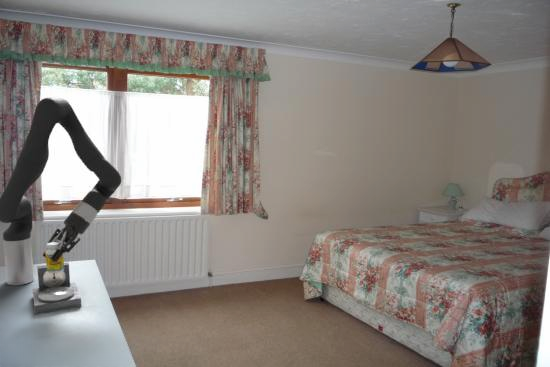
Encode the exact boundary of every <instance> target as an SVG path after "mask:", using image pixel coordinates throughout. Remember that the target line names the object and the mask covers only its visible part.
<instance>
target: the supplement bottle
mask: <svg viewBox="0 0 550 367" xmlns="http://www.w3.org/2000/svg"><path fill="white" fill-rule="evenodd" d="M59 246H60V243H59V242H51V243H46V250H45V251H46V252H45V251H44V252H45V255H46V257H45V262H46V263H45V265H46V266H47V272H48V273H59V272H61V271H63V270H64V263H65V261H64V253H63V254H62V255H61V257H60V258H59V259H58V261H57V262H54V261H52V260H51V259H50V258H51V257H52V255H53V254H54V253H55V252H56V250H57V249H58V248H59ZM47 248H48V250H47ZM58 250H59V249H58Z"/></svg>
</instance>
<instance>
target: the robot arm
mask: <svg viewBox="0 0 550 367" xmlns="http://www.w3.org/2000/svg"><path fill="white" fill-rule="evenodd" d="M57 124H59V125H60V126H61V127H63V129H64V130H65V131H66V133H67V134H68V136H69V138H70V140H71V142H72V146H73V149H74V151H75V154H76V155H77V157H78V158H79V159H80V161H81V162H82V164H84V166H85V167H86V168H87V169H88V170H89V171H90V172H93V174H94V176H96V177H97V178H98V180H97V182H96V184H95V185H94V186H93V188H92V189H91V190H90V191H88V192H87V194H86V195H85V196H84V197H83V198H82V200H81V201H80V202H79V203H78V204H77V205H76V206H75V207H74V209H72V211H71V212H70V213H69V214H68V216H67V217H66V218H65V219H64V221H63V224H64V225H65V226H64V227H63V228H62V229H59V228H56V230H55V231H54V232H53V234H52V236H51V237H50V239H49V240H48V241H47V242H48V243H51V242H59V243H60V246H59V248H58V249H59V250H58V249H57V250H56V252H55V253H54V254H53V255H52V257H51V258H50V259H51V260H52V261H54V262H57V261H58V259H59V258H60V257H61V255H62V254H63V255H64V254H66V253H70V252H71V250H73V248H74V247H75V246H76V245H77V244H78V243H79V242H80V241H81V238H80V237H78V235H83V234H84V233H85V232H86V230H88V228H89V226H91V224H92V223H93V222H94V220H95V219H96V217H97V216H98V214H99V213H100V212H101V210H102V208H103V207H104V206H105V204H106V203H107V202H108V200H109V199H110V198H111V197H112V195H113V194H114V193H115V192H116V191H117V190H118V188H119V187H120V185H121V183H122V176H121V174H120V172H119V171H118V170H117V169H116V168H115V167H114V166H113V164H111V162H109V161H108V160H107V159H106V157H105V156H104V155H103V153H102V152H101V151H100V149H98V147H97V146H96V145H95V143H94V142H93V140H91V137H89V135H88V133H87V132H86V130H85V128H84V127H83V124H82V123H81V121H80V120H79V118H78V116H77V114H76V112H75V111H74V108H73V107H72V105H71V104H70V102H69V101H68V100H67V99H65V98H64V97H60V96H53V97H44V98H42V99H41V100H39V102H37V104H36V106H35V110H34V113H33V117H32V120H31V124H30V128H29V131H28V134H27V136H26V138H25V141H24V144H23V147H22V148H21V151H20V153H19V155H18V158H17V160H16V163H15V166H14V168H13V171H12V173H11V176H10V178H9V181H8V183H7V184H6V187H5V189H4V190H3V192H2V194H1V196H0V222H1V223H4V224H9V223H10V225H9V226H8V227H7V229H6V230H4V231H3V233H2V240H3V250H4V253H3V254H4V265H5V266H4V267H5V277H6V284H7V286H22V285H26V284H29V283H32V282H33V281H34V280H35V277H34V263H33V250H32V236H31V234H32V231H33V207H32V204H31V201H30V200H29V198H28V197H27V196H25V194H26V192H27V191H28V190H29V188H31V187H32V186H33V185H34V183H36V182H37V180H39V178H40V177H41V176H42V174H43V172H44V170H45V168H46V166H47V163H48V160H49V155H50V152H49V151H50V150H49V148H50V147H49V139H50V136H51V134H52V132H53V130H54V128H55V126H56V125H57ZM48 243H47V244H48ZM46 250H48V248H47V247H46ZM46 250H45V251H44V252H43V254H42V256H43V257H44V258H46V255H45V252H46Z"/></svg>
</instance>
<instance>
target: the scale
mask: <svg viewBox="0 0 550 367" xmlns="http://www.w3.org/2000/svg"><path fill="white" fill-rule="evenodd" d="M70 277H71V276H70V264H69V262H68V261H67V262H66V261H65V262H64V270H63V271H61V272H59V273H48V272H47V266H46V264H45V265H37V280H38V288H37V287H35V288H32V297H33V308H34V315H42V314H46V313H53V312H58V311H63V310H70V309H76V308H82V297H81V295H80V292H79V289H78V287H77V284H76V282H71V278H70Z"/></svg>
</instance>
